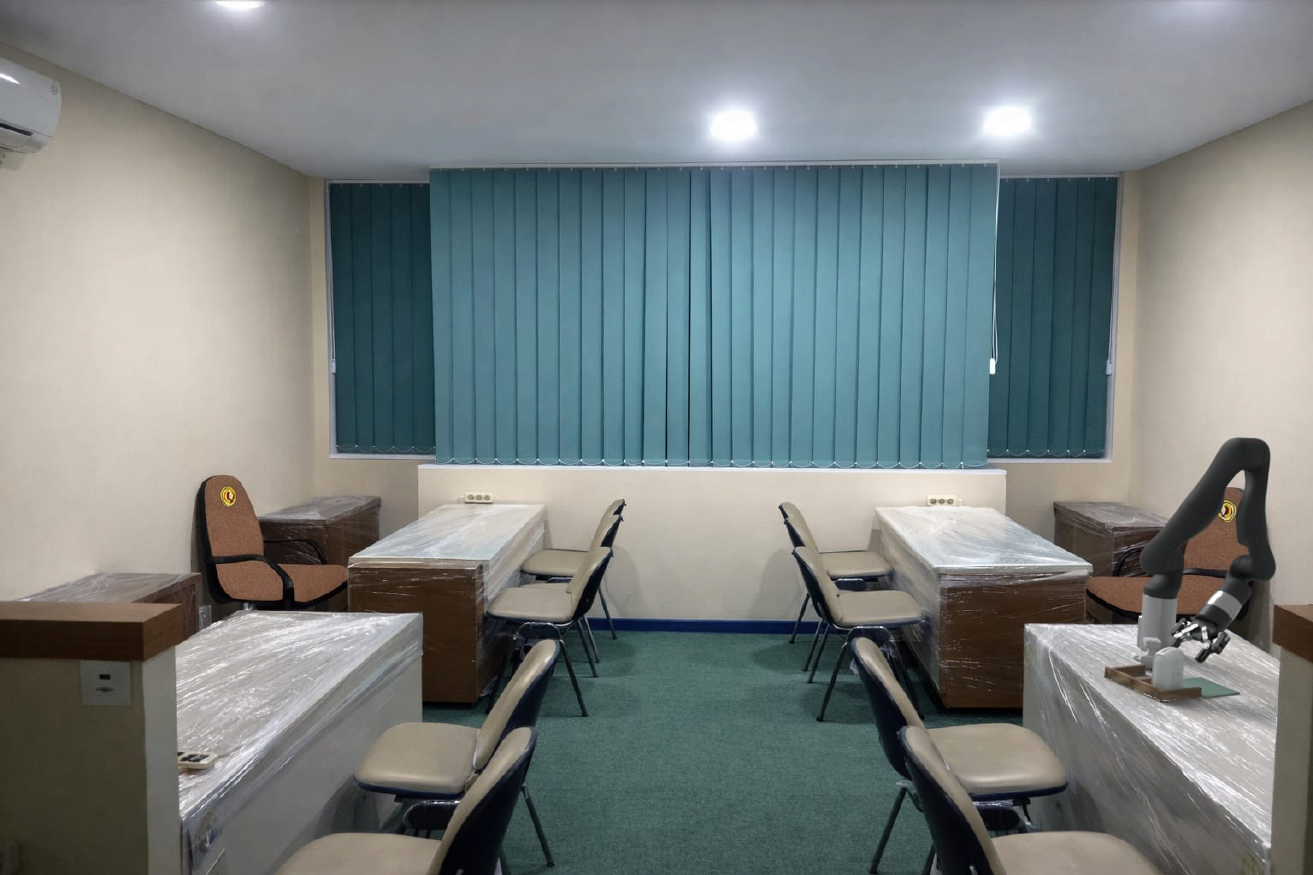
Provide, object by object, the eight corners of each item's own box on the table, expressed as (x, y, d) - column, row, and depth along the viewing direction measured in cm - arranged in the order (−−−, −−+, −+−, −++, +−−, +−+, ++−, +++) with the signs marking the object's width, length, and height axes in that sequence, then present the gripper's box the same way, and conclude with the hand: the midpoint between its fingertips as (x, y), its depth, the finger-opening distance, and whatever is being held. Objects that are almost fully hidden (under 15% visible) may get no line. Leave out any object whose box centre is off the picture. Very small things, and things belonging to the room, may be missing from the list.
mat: (1167, 682, 248) (1167, 680, 248) (1200, 678, 252) (1200, 676, 252) (1205, 698, 237) (1205, 696, 237) (1239, 693, 240) (1239, 692, 240)
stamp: (1134, 668, 258) (1136, 640, 258) (1131, 661, 265) (1133, 633, 264) (1170, 673, 255) (1172, 644, 255) (1165, 665, 262) (1167, 637, 261)
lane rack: (1104, 676, 251) (1105, 666, 251) (1142, 672, 255) (1143, 662, 255) (1160, 702, 233) (1161, 690, 233) (1201, 696, 237) (1201, 686, 237)
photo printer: (1167, 686, 245) (1171, 642, 244) (1184, 691, 241) (1187, 647, 240) (1148, 693, 239) (1151, 648, 238) (1164, 698, 236) (1167, 653, 234)
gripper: (1189, 596, 249) (1154, 639, 246) (1236, 609, 235) (1200, 655, 233) (1202, 613, 251) (1168, 656, 248) (1249, 627, 237) (1214, 673, 235)
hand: (1183, 656), depth 240 cm, fingers open, 8 cm apart
